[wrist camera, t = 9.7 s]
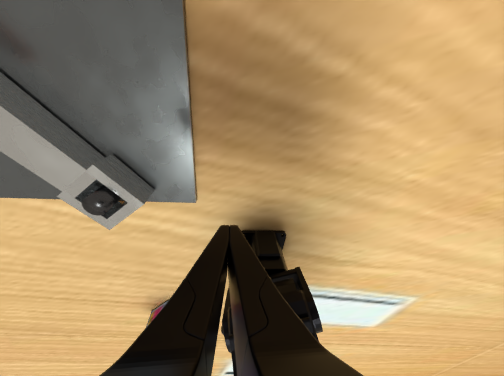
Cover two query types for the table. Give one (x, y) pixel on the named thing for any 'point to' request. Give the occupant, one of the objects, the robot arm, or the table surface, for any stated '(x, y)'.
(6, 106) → the link
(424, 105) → the table surface
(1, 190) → the pintle plate
